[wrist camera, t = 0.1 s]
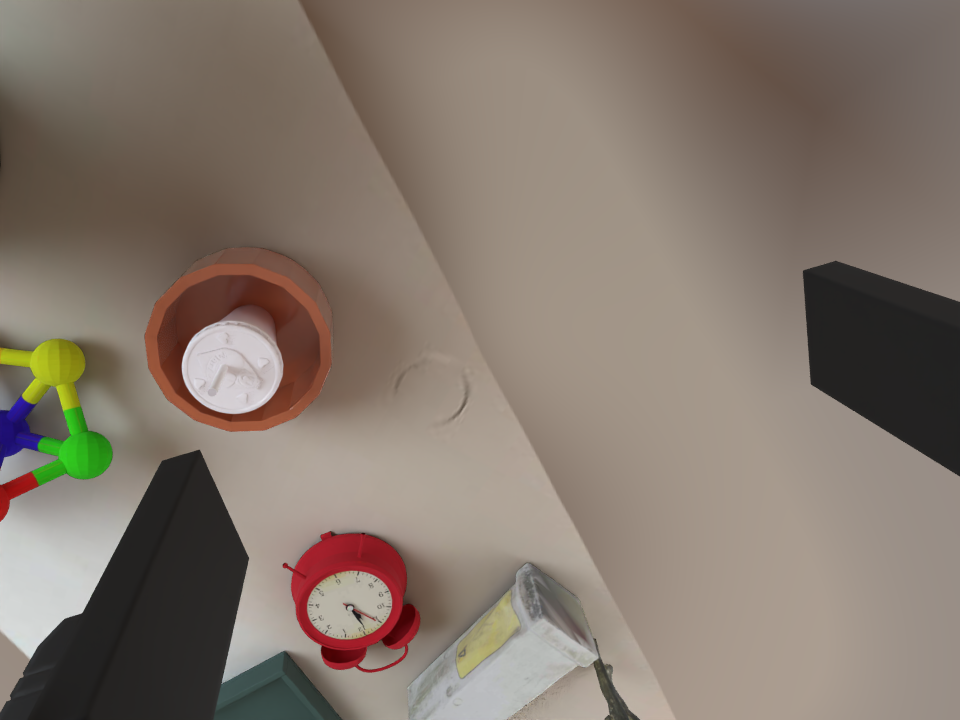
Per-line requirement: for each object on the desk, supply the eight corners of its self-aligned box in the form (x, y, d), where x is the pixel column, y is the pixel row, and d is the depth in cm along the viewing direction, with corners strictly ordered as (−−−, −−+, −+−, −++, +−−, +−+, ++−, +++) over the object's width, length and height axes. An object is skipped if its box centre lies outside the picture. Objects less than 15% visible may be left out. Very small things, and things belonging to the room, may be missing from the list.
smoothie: (230, 272, 54) (193, 327, 41) (307, 312, 56) (294, 376, 43) (193, 342, 55) (145, 417, 42) (270, 378, 57) (246, 460, 44)
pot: (130, 327, 54) (105, 353, 49) (243, 212, 53) (231, 225, 47) (258, 428, 59) (249, 462, 53) (365, 325, 57) (367, 349, 52)
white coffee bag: (446, 717, 73) (457, 785, 66) (390, 679, 70) (394, 747, 63) (580, 599, 71) (606, 656, 63) (527, 555, 68) (548, 610, 61)
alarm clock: (378, 527, 60) (441, 677, 62) (381, 502, 66) (439, 640, 68) (262, 573, 59) (331, 722, 62) (276, 543, 66) (338, 680, 68)
